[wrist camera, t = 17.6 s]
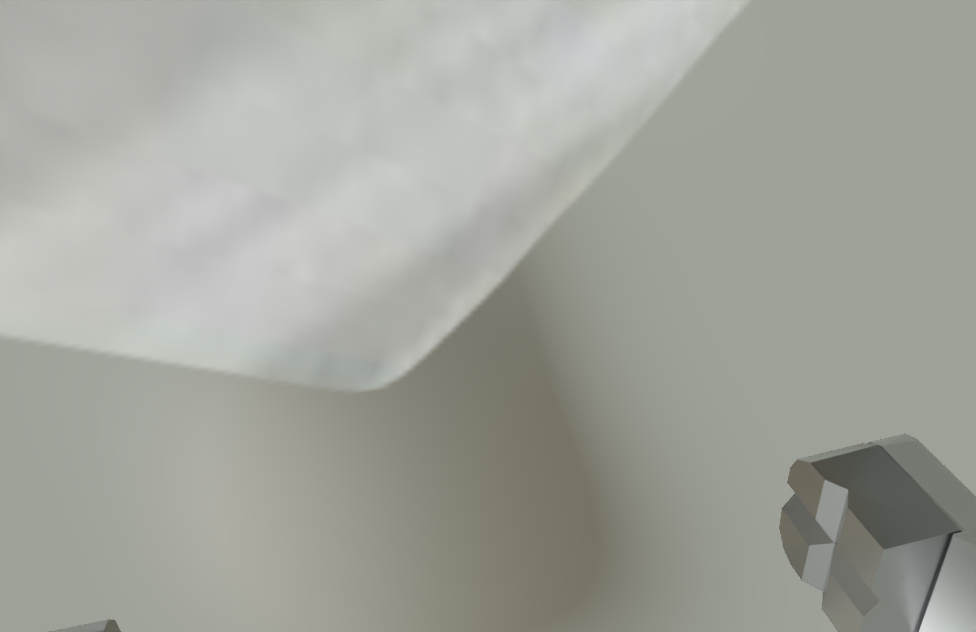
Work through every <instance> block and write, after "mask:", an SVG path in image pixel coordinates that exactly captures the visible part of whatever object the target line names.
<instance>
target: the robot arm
mask: <svg viewBox="0 0 976 632" xmlns="http://www.w3.org/2000/svg"><path fill="white" fill-rule="evenodd" d="M787 483H788V484H789V486H790V487H791V488H792V489H793V491H794V492H795V494H794V495H793V496H792V497H791V498H790V500H789V501H788V502H787V503H786V504H785V505H784V507H783V508H782V512H781V519H780V526H779V529H780V534H781V539H782V544H783V548H784V551H785V553H786V555H787V557H788V559H789V562H790V564H791V566H792V567H793V569H794V570H795V571H796V573H797V574H798V576H799V577H800V579H801V580H802V581H804V582H806V583H807V584H809V585H811V586H813V587H815V588H817V589H819V590H821V591H823V597H822V610H823V611H824V613H825V614H826V616H827V617H828V618H829V620H830V621H831V622H832V624H833V625H834V627H835V628H836V629H837V631H838V632H976V496H975V495H974V494H973V493H972V492H971V491H970V490H969V489H968V488H967V487H966V486H965V485H964V484H962V482H960V481H959V480H958V479H957V478H956V477H955V476H954V475H953V474H952V473H951V472H950V471H949V470H948V469H947V468H946V467H945V466H944V465H943V464H942V463H941V462H940V461H939V460H938V459H937V458H936V457H935V456H934V455H933V454H932V453H931V452H930V451H929V450H928V449H927V448H926V447H925V446H924V445H923V444H922V443H920V442H919V441H918V440H917V439H916V438H914V437H912V436H910V435H907V434H902V435H897V436H893V437H889V438H885V439H880V440H877V441H872V442H869V443H861V444H857V445H853V446H850V447H845V448H841V449H837V450H833V451H829V452H825V453H821V454H817V455H813V456H808V457H805V458H800V459H797V460H796V461H795V462H794V464H793V465H792V466H791V467H790V472H789V476H788V481H787ZM50 632H121V631H120V629H119V627H118V625H117V623H116V621H115V620H104V621H99V622H94V623H89V624H84V625H79V626H75V627H70V628H65V629H60V630H56V631H50Z"/></svg>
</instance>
